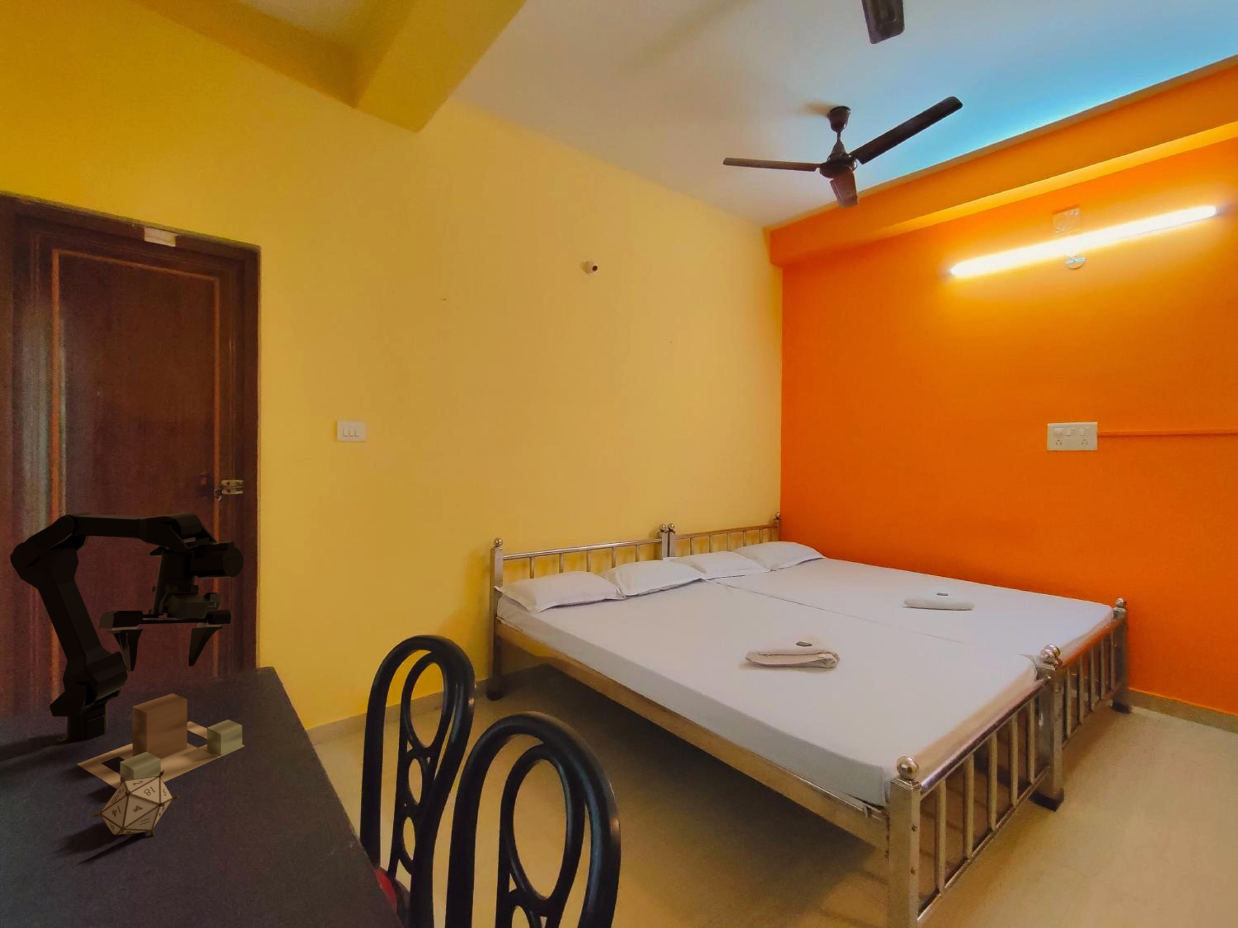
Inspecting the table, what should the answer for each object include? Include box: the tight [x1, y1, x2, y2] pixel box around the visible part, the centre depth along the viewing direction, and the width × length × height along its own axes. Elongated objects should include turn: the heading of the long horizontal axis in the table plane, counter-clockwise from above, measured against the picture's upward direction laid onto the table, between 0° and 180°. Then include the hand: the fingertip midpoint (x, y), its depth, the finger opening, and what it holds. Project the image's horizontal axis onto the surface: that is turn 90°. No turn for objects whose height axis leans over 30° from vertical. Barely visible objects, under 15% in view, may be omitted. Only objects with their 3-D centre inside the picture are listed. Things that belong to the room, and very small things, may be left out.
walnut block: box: [131, 693, 188, 759], centre depth 99 cm, size 5×6×9 cm
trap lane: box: [76, 719, 246, 790], centre depth 98 cm, size 18×17×5 cm
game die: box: [90, 770, 181, 844], centre depth 80 cm, size 9×8×10 cm
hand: (162, 668), depth 99 cm, fingers open, 9 cm apart
